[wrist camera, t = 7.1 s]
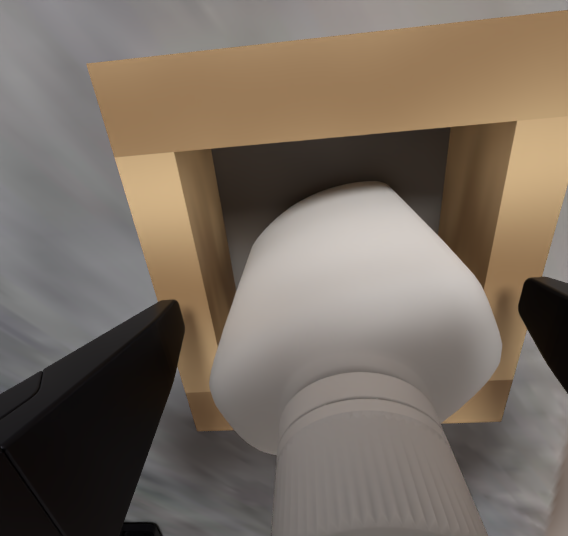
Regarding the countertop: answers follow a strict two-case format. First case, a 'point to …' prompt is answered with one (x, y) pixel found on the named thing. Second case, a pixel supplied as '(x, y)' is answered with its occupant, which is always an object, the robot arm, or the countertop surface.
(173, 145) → the wooden square frame
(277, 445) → the eye dropper bottle
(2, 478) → the robot arm
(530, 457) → the countertop surface
